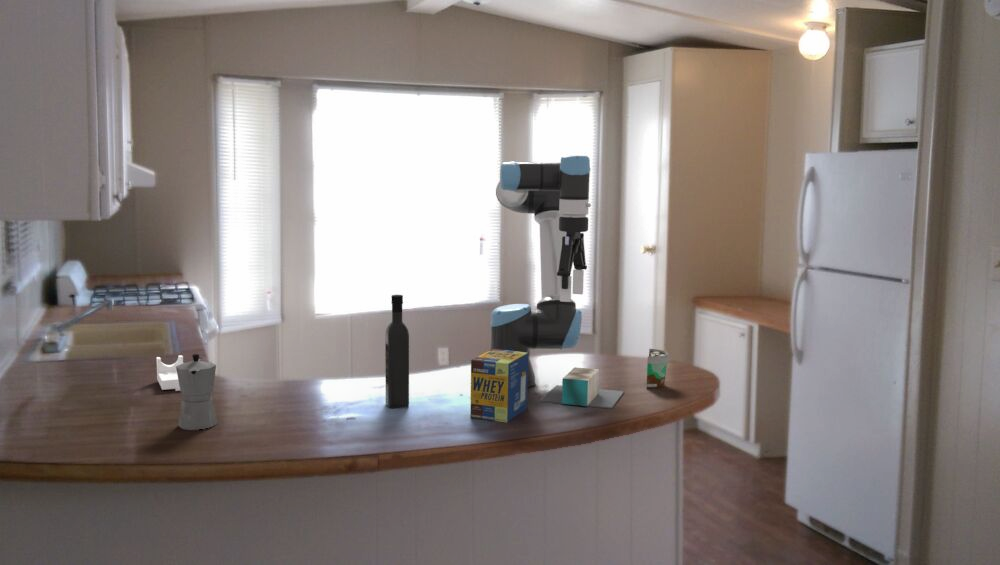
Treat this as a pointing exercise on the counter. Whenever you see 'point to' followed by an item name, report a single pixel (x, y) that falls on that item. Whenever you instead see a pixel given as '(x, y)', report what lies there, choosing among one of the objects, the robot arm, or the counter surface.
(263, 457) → the counter surface
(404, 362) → the wine bottle
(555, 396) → the mat
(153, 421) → the counter surface
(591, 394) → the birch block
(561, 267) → the robot arm
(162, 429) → the counter surface
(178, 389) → the bracket
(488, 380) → the protein box
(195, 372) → the coffeepot
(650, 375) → the food container
